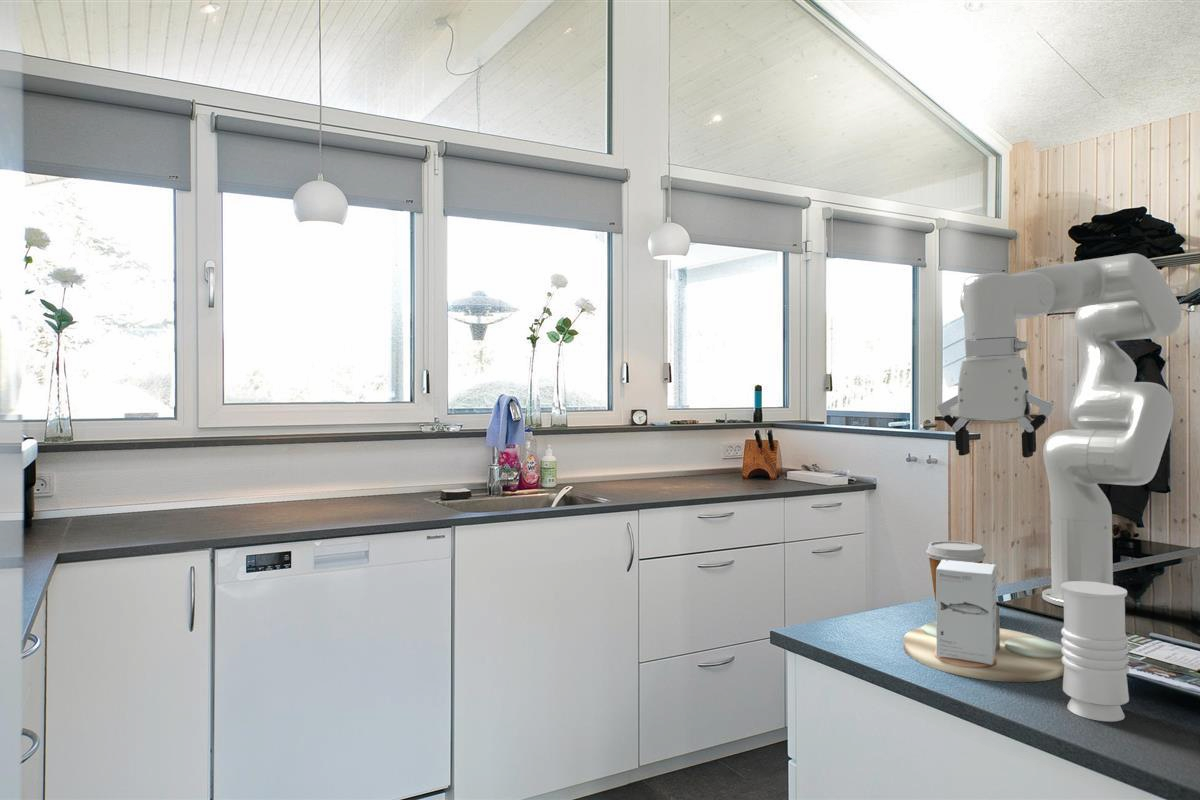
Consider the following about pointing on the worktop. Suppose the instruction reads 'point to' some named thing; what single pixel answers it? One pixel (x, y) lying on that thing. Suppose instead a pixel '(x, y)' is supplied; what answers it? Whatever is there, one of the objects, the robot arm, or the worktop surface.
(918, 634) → the carrier
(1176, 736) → the worktop surface
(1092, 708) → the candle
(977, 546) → the disposable coffee cup
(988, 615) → the supplement box
